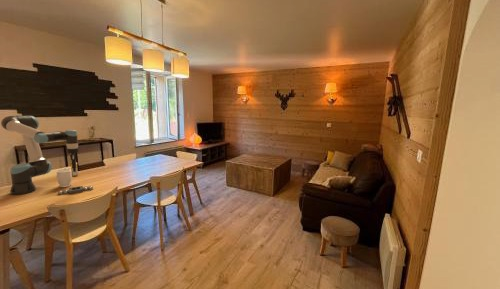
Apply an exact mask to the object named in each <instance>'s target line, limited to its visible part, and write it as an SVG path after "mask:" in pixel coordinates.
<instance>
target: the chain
mask: <svg viewBox="0 0 500 289" xmlns="http://www.w3.org/2000/svg"><path fill="white" fill-rule="evenodd" d="M92 190H94V188H93V185H88V186H83V185H80V186H79V185H77V186H72V187H68V189H66V188H65V189H63V190H62V189H59V190H58V191H57V195H68V194H69V195H72V194H78V193H79V194H80V193H83V192H87V191H92Z"/></svg>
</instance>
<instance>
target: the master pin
mask: <svg viewBox="0 0 500 289" xmlns="http://www.w3.org/2000/svg"><path fill="white" fill-rule="evenodd" d="M70 168H71V174H72V178H78V177H79V172H78V162H77V161H76V170H77V175H73V171H72V162H70Z"/></svg>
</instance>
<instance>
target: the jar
mask: <svg viewBox="0 0 500 289" xmlns="http://www.w3.org/2000/svg"><path fill="white" fill-rule="evenodd" d="M72 178H73V177H72V170H71V169H70V168H63V169H58V170H56V180H57V183H58V185H59V186H58V187H59V188H66V187H67V188H69V187H70V186H71V185H72V184H71V182H72Z"/></svg>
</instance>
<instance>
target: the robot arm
mask: <svg viewBox="0 0 500 289" xmlns="http://www.w3.org/2000/svg"><path fill="white" fill-rule="evenodd" d="M0 124H1V127H2V128H3V129H4V130H7V132H15V133H17V134H20V135H22V139H23V143H24V145H25V147H26V148H25V149H26V151H27V155H28V158H29V161H28V162H25V163H24V162H23V163H18V164H15V165H12V166H11V167H10V172H9V173H10V178H11V186H10V190H9V194H10V195H14V196H19V195H25V194H29V193H34V192H35V191H36V190H37V188H36V185H35V184H34V182H33V178H36V177H38V176H42V175H43V176H45V175H46V174H49V173H50V172H51V171H52V169H53V168H52V167H53V166H52V163H51V162H50V161H49V160H47V158H45V157H44V156H43V152H42V149H41V146H40V144H45V143H54V142H61V141H65V142H66V144H65V146H66V148H67V149H66V153H67V154H70V156H69V157H70V161H71V163H72V170H71V172H72V171H73V175H77V170H78V169H77V170H76V162H77V153H79V141H78V132H77V130H75V129H66V130H65V131H60V130H59V131H54V132H45V131H43V130H39V129H37V128H39V125H40V121H39V120H38V119H37V118H36V117H35V116H33V115H9V116H5V117H4V118H3V119H2V120H1V122H0Z"/></svg>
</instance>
